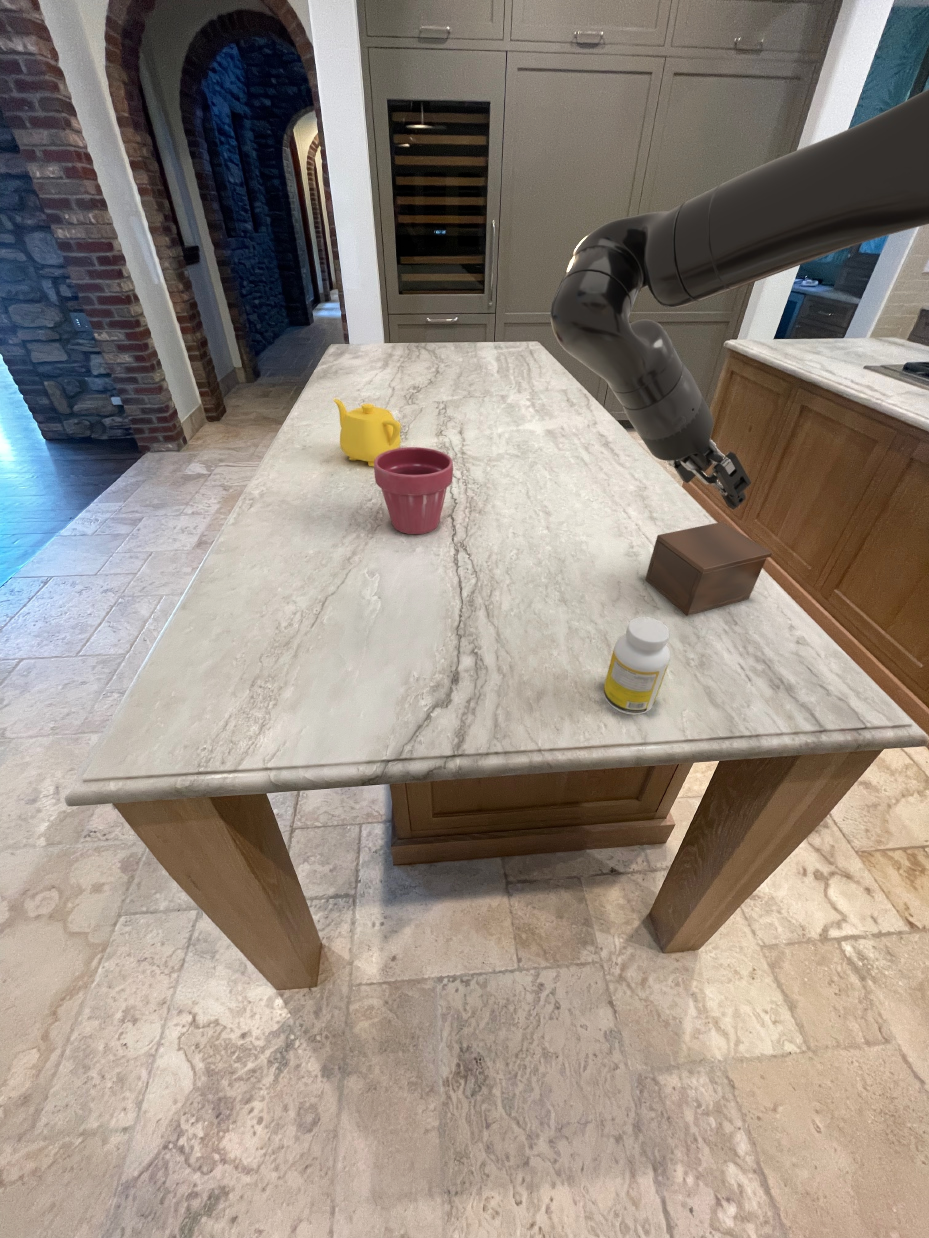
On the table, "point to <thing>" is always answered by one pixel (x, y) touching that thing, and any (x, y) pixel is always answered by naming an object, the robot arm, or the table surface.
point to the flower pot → (414, 486)
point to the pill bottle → (637, 666)
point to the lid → (713, 547)
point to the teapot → (367, 432)
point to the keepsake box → (700, 581)
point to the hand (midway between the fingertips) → (713, 489)
